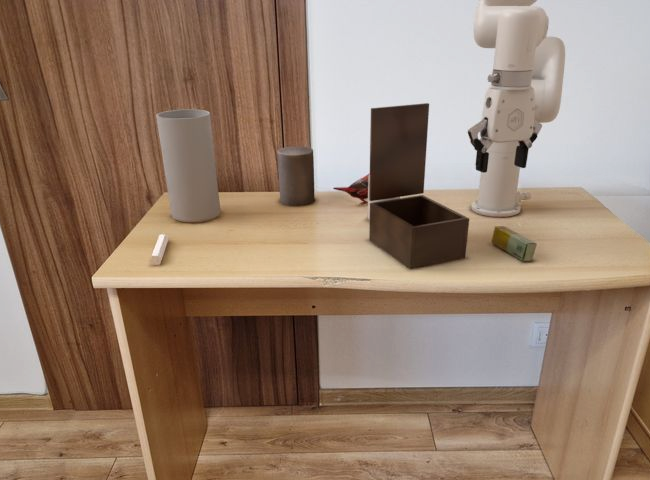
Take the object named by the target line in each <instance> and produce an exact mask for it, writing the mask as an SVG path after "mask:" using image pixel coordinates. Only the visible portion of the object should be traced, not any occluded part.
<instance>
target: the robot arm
mask: <svg viewBox="0 0 650 480" xmlns="http://www.w3.org/2000/svg"><path fill="white" fill-rule="evenodd" d="M536 2H538V0H478V3H477V7H476V11H475V16H474V23H473V38H474V42H475V43H476V45H477V46H478V47H480V48H483V49H494V56H493V67H492V72H491V74H489V75H488V76H487V82H488V83H489V85H488V87H487V88H486V90H485V95H484V103H483V108H482V113H481V119H480V121H479V122H477V123H475V124H474V125H473V126H471V127H470V128H469V129H468V130H467V134H468V138H469V140H470V141H469V142H470V144H471V146H472V147H473V148H474V151H476V154H475V155H476V156H475V171H478V172H480V178H479V186H478V195H477V200H474V201H473V202H472V203H471V204H470V206H471V207H470V209H471V211H473V212H474V213H476V214H479V215H482V216H486V217H494V218H505V217H506V218H507V217H512V216H516V215H518V214H519V213H521V208H522V206H521V205H520V204H519V203H520V202H521V201H527V200H530V199H531V198H532V193H531V192H529V191H525V192H520V191H519V190H518V186H519V180H520V179H519V178H520V171H521V169H525V168H527V162H528V156H529V149H531V148H532V147H533V144H534V142H536V140H537V138H538V135H539V134H540V132H541V130H542V128H543V124H547V123H551V122H553V121H554V120H556V118H557V117H558V115H559V112H560V109H561V105H562V104H561V103H562V94H563V84H564V73H565V64H566V46H565V43H564V41H563V40H562V39H561V38H559V37H557V36H548V35H547V34H548V30H549V23H550V22H549V21H550V19H549V16H548V15H547V13H546V10H545V9H544V8H542V7H540V6H537V5H534V4H536ZM478 135H479V136H480V138H479V136H478Z"/></svg>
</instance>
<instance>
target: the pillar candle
mask: <svg viewBox="0 0 650 480" xmlns="http://www.w3.org/2000/svg"><path fill="white" fill-rule="evenodd" d="M276 154H277V169H278V187H279V189H278V190H279V199H280V203H281V204H282V205H284V206H287V207H305V206H309V205H313V204H314V203H315V202H316V197H315V196H316V195H315V191H316V189H315V164H314V163H315V161H314V159H315V157H314V150H313V148H311V147H308V146H299V145H298V146H297V145H294V146H288V147H287V146H286V147H282V148H280V149H278V150H276Z"/></svg>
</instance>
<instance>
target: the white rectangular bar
mask: <svg viewBox="0 0 650 480" xmlns="http://www.w3.org/2000/svg"><path fill="white" fill-rule="evenodd" d="M168 242H169V237H168V235H167V234H163V233H162V234H159V235H158V238H157V240H156V243H155V245H154V248H153V251H152V254H151V256H150V259H149V262H150V263H151V264H152V266H160V265H161V262H162V259H163V258H164V254H165V251H166V247H167V246H168V245H167V244H168Z"/></svg>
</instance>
